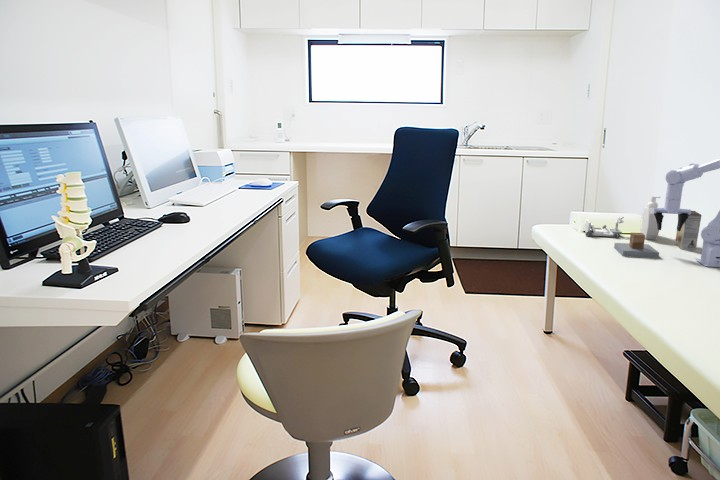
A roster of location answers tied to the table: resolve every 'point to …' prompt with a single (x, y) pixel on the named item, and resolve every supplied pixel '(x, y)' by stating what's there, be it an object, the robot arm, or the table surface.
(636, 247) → the walnut block
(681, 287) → the table surface
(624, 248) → the grey box
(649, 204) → the soap bottle
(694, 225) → the coffee box
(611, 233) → the toy rover
